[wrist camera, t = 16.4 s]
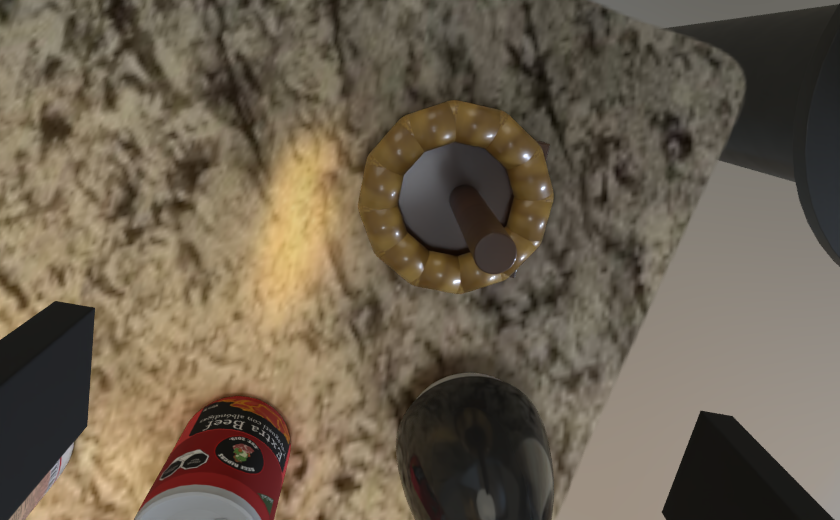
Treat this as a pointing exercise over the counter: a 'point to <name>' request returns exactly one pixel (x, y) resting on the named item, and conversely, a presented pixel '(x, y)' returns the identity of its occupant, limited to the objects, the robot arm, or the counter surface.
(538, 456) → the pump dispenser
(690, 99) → the counter surface
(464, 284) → the ring
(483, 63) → the counter surface
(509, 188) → the post
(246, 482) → the canned food
